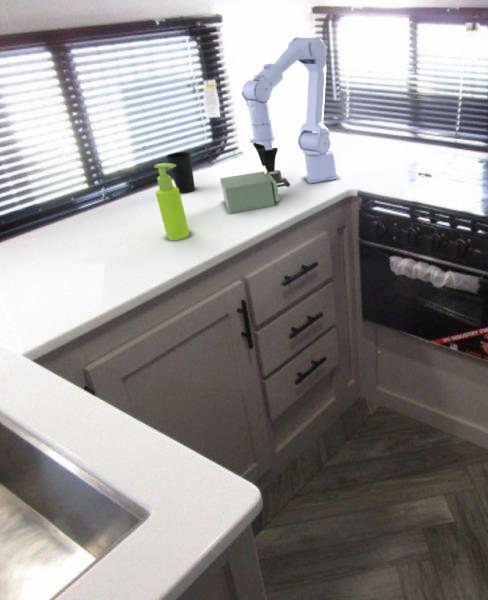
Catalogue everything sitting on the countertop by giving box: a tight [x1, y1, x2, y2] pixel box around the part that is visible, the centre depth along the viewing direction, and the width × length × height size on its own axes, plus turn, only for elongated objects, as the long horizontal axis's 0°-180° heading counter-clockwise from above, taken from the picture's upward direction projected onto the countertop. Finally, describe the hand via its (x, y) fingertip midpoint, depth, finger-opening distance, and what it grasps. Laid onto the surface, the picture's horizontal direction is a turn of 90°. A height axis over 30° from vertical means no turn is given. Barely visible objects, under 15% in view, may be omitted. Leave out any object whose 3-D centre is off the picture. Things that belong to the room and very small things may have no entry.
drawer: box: [265, 173, 291, 202], centre depth 177 cm, size 17×10×6 cm, turn 111°
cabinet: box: [219, 170, 276, 214], centre depth 176 cm, size 14×12×8 cm
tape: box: [265, 169, 283, 181], centre depth 196 cm, size 5×5×3 cm
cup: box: [165, 151, 196, 194], centre depth 190 cm, size 8×8×12 cm
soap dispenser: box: [153, 162, 190, 241], centre depth 152 cm, size 6×7×20 cm
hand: (268, 168), depth 176 cm, fingers open, 7 cm apart
